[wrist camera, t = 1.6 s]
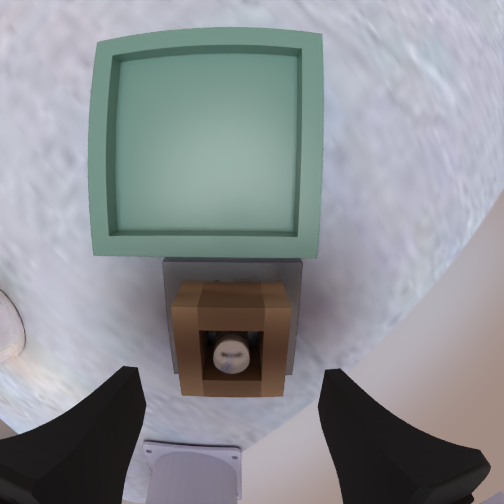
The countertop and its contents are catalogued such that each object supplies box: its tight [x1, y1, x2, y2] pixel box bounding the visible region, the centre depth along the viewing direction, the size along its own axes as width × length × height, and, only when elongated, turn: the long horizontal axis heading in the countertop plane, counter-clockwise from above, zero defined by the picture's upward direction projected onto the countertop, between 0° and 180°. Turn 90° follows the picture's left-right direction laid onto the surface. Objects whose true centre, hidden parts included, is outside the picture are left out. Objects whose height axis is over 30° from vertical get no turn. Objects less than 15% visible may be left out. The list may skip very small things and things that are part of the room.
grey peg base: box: [163, 257, 303, 375], centre depth 15 cm, size 7×7×4 cm
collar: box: [171, 281, 291, 397], centre depth 15 cm, size 5×5×3 cm
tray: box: [88, 27, 324, 258], centre depth 14 cm, size 11×11×2 cm
